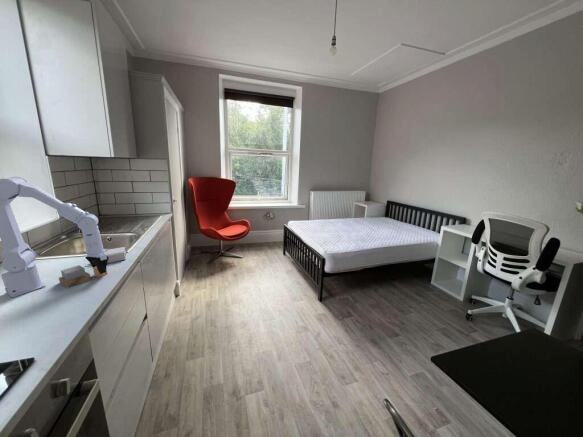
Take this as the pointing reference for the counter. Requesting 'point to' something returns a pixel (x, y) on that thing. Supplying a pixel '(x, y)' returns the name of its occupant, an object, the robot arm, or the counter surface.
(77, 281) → the base slab
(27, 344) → the counter surface
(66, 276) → the upper block
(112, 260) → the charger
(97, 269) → the cylinder
